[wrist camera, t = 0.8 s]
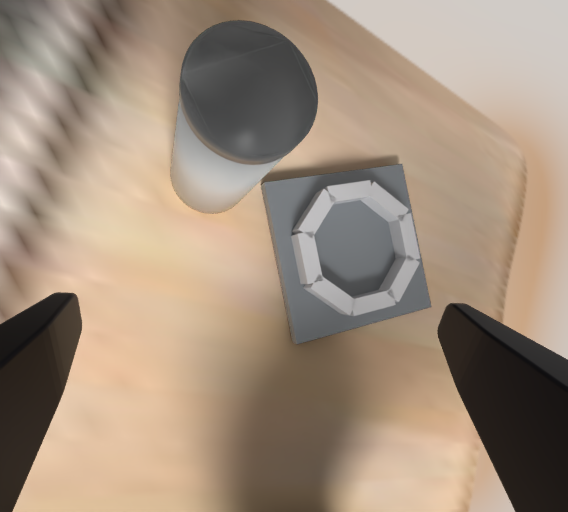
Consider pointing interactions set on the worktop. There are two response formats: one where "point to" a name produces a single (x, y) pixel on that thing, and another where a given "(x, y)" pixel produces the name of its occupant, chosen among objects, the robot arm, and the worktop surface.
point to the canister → (238, 112)
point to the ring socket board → (345, 250)
